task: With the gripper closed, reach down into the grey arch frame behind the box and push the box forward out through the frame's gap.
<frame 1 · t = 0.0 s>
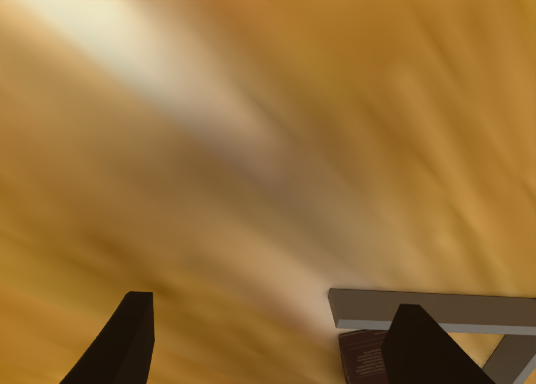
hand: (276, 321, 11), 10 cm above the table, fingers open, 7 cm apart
box: (379, 348, 29), on the table
grey arch frame: (380, 351, 28), on the table
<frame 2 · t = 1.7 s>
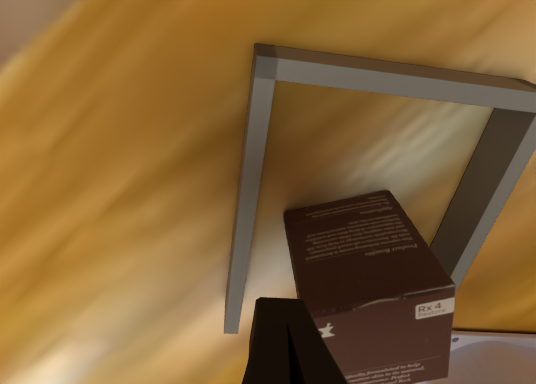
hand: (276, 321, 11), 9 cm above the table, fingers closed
box: (340, 238, 22), on the table
grey arch frame: (341, 241, 22), on the table
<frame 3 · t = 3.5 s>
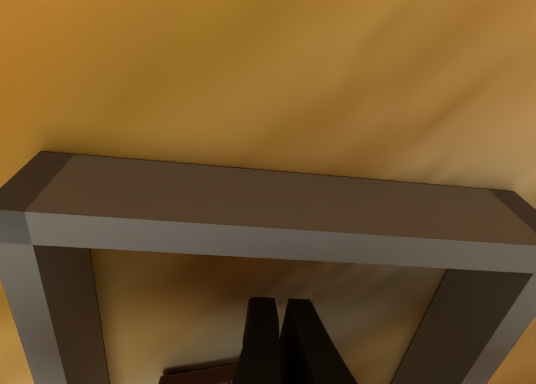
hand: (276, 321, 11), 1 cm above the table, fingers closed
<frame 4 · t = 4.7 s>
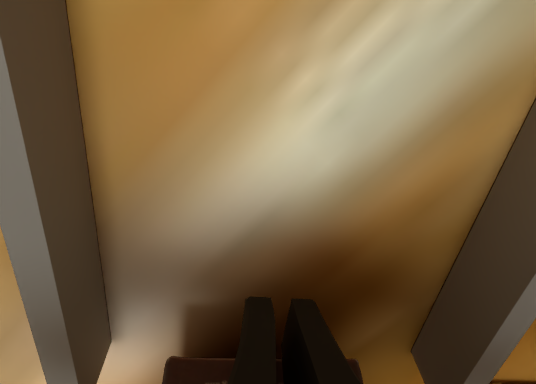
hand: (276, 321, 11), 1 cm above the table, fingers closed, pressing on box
box: (256, 377, 14), point 1 cm above the table, touching gripper
grey arch frame: (290, 230, 11), on the table
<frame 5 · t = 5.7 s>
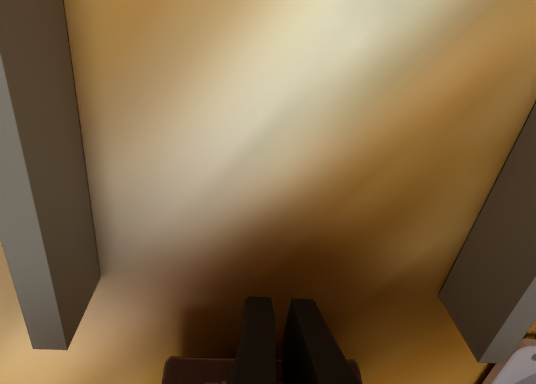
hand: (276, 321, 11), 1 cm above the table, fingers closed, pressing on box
box: (255, 378, 14), point 1 cm above the table, touching gripper
grey arch frame: (308, 134, 9), on the table
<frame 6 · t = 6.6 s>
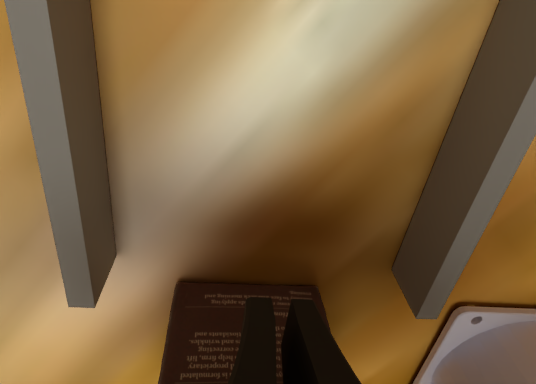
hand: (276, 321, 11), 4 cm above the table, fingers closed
box: (243, 323, 17), on the table
grey arch frame: (279, 140, 12), on the table
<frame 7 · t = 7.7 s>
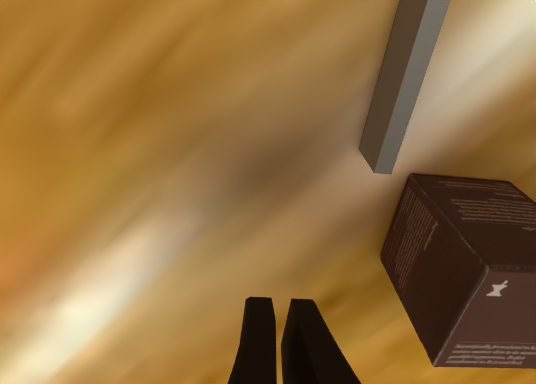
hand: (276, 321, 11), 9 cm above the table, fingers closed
box: (439, 218, 22), on the table
grey arch frame: (523, 54, 17), on the table
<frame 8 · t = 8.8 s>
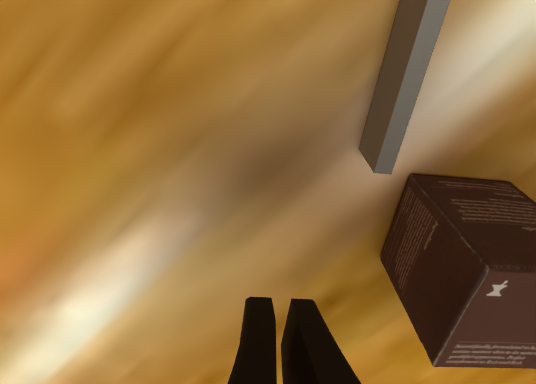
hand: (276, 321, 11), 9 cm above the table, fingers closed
box: (439, 218, 22), on the table
grey arch frame: (523, 54, 17), on the table
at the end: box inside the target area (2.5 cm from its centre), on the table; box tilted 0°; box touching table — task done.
